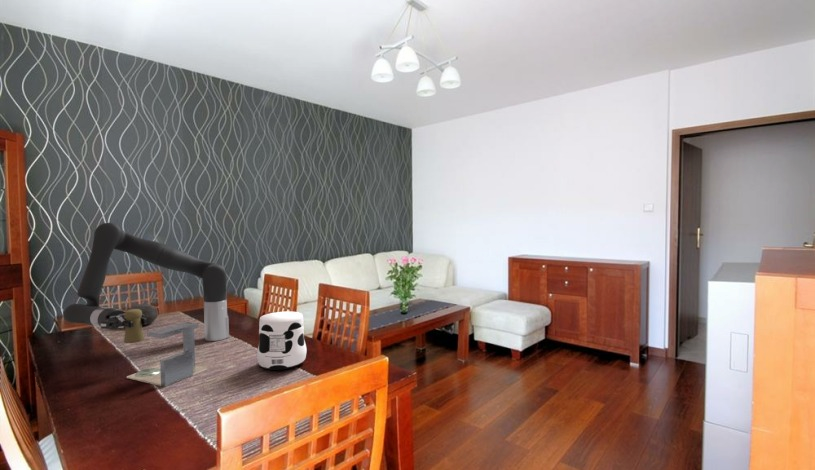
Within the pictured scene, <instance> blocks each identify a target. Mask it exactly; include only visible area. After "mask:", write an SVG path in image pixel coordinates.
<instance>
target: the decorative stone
mask: <svg viewBox="0 0 815 470" xmlns="http://www.w3.org/2000/svg"><path fill="white" fill-rule="evenodd" d="M131 309H140V310H141V311H142V314H144V315H145V316H144V318H146V319H147V324H144V325H143V324H142V326H146V325H150V324H152V323H153V322H154V321H155V320H156V319H157V318H158V315H159V311H158V309H157V308H156V307H155V306H154V305H152V304H147V303H140V304H136V305H132V306H130V307H128V308H127V309H126V310H125V312H126V311H127V310H131Z"/></svg>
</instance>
